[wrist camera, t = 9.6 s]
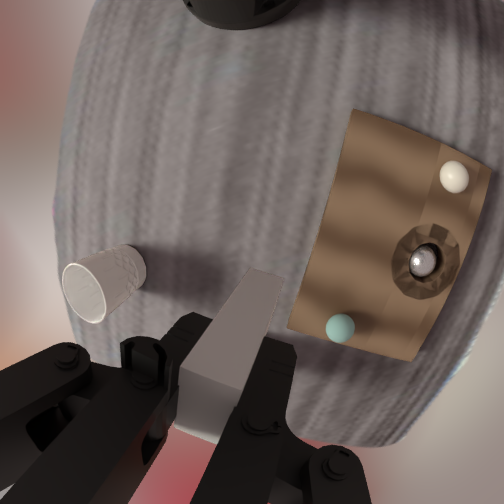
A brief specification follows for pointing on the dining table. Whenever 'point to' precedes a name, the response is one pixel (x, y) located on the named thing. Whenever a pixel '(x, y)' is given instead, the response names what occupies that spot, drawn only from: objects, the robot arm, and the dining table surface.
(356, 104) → the dining table surface
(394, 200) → the board
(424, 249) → the steel ball
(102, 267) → the white cup
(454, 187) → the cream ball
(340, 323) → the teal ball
